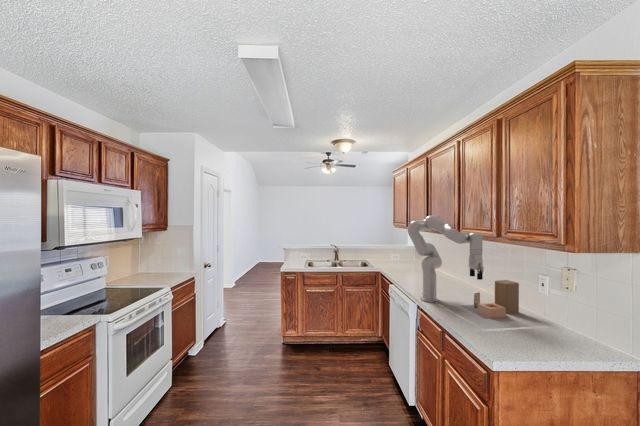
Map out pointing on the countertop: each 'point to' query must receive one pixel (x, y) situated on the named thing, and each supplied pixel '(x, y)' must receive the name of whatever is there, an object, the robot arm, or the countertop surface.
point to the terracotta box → (491, 310)
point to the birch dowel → (476, 299)
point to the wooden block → (507, 295)
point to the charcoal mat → (475, 310)
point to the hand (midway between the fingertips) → (475, 277)
